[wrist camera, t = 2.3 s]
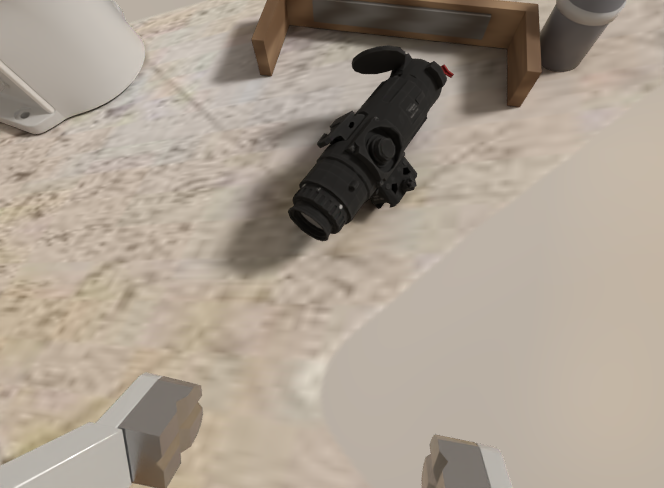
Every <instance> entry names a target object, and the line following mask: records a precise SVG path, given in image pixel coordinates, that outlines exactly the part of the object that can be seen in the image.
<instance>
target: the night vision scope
mask: <svg viewBox="0 0 664 488" xmlns="http://www.w3.org/2000/svg"><path fill="white" fill-rule="evenodd" d="M352 68H353V69H354V71H356V72H359V73H361V74H379V73H383V72H388V71H391V70H392V72H391V76H390V77H389V79H388V80H386V81H384V82H382V83H381V84H380V85H379V86H378V87H377V89H376V90H375V91H374V92H373V93H372V95H371V96H370V97H369V98H368V99H367V101H366V102H365V103H364V104H363V105H362V107H361V108H360V109H359V110H358V111H357V113H356V114H355V115H354V112H353V111H351V112H349V113H347V114H345V115H343V116H342V117H340V118H338V119H336V120H335V121H334V122H333V123H332V125H331V126H330V128H331V132H330V133H329V134H324V135H323V136H322V137H321V139H320V140H319V141H318V143H317V145H318V146H319V147H320V148H322V147H324V146H326V145H328V144H329V143H330V144H331V145H329V146H328V147H327V149H326V150H325V151H324V152H323V154H322V155H321V156H320V158H319V159H318V160H317V164H316V165H315V166H314V167H313V169H312V170H311V171H310V172H309V173H308V175H307V176H306V177H305V178H304V179H303V180H302V182H301V183H300V189H299V190H298V192H297V193H296V194H295V196H294V197H293V204H294V206H293V207H292V208H290V209H289V211H288V213H289V216H290V218H291V219H292V220H293V222H294V223H295V224H296V225H297V226H298V227H299V228H300V229H301V230H302V231H304V232H305V233H307V234H308V235H309V236H311V237H313V238H315V239H317V240H320V241H327V240H328V237H329V235H330V233H331V234H336V233H338V232H339V231H340V230H341V229H342V227H343V226H344V224H348V223H349V222H351V220H352V219H353V217H354V216H355V215H356V213H357V212H358V210H359V209H360V208H361V206H362V205H363V203H364V202H366V201H367V200H369V198H370V199H371V201H372V202H373V204H374V205H375V206H376V207H377V208H378V209H380V208H381V207H382V206H383V204H384V203H386V202H387V203H389V204H390V207H394V206H395V205H397V204H398V203H399V202H400V200H401V199H402V197H403V196H404V194H405V193H406V191H411V190H414V188H415V186H416V182H415V178H416V177H417V173H416V171H415V170H414V169H413V167H412V166H411V165H410V163H409V162H408V161H407V159H406V158H405V157H404V156H405V152H404V150H405V148H406V147H407V146H408V144H409V143H410V141H411V140H412V139H413V137H414V136H415V134H416V133H417V132H418V130H419V129H420V128H421V126H422V125H423V123H424V122H425V121H426V119H427V113H428V111H429V109H430V108H431V107H432V105H433V104H434V103H435V101H436V100H437V99H438V98H439V95H440V93H441V90H442V87H443V86H444V85H445V83H446V81H447V77H446V75H447V76H448V77H450V78H451V77H452V76H453V75H454V74H453V73H451V72H450V71H449V70H448V69H447V67H446V66H445V64H444V65H442V66H440V65H438V64H437V63H436V62H435V61H433V62H431V63H429V62H427V61H425V60H422V59H412V58H411V56H410V55H409V53H408V54H405V51H404V50H402V49H401V48H400V47H394V46H379V47H375V48H371V49H368V50H365V51H363V52H361V53H360V54H358V55H357V56H356V57H355V58H353V61H352Z"/></svg>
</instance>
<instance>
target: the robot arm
mask: <svg viewBox="0 0 664 488" xmlns="http://www.w3.org/2000/svg"><path fill="white" fill-rule="evenodd" d="M144 58H145V47H144V43H143V40H142V38H141V37H140V35H139V34H138V33H137V32H136V31H135V30H134V29H133V28H132V27H131V25H130V24H129V23H128V22H127V21H126V20H125V17H124V14H123V11H122V10H121V8H120V7H119V6H118V4H117V3H116V2H115V1H112V0H0V122H2V123H5V124H7V125H10V126H13V127H16V128H18V129H21V130H24V131H27V132H29V133H33V134H39V133H43V132H45V131H47V130H49V129H51V128H52V127H54V126H56V125H57V124H59V123H60V122H62V121H63V120H65V119H66V118H69V117H71V116H74V115H77V114H80V113H83V112H86V111H89V110H92V109H94V108H97V107H99V106H101V105H103V104H105V103H107V102H108V101H110V100H112V99H113V98H115V97H116V96H118V95H119V94H120V93H121V92H123V91H124V90H125V89H126V88H127V87H128V86H129V85H130V84H131V83H132V82H133V81H134V79H135V78H136V77H137V75H138V73H139V72H140V70H141V68H142V65H143V62H144ZM201 396H202V391H201V386H200V385H198V384H193V383H189V382H185V381H181V380H177V379H173V378H169V377H165V376H160V375H155V374H151V373H147V372H146V373H144V374H142V375H140V376H139V377H138V378H137V379H136V380H135V381H134V382H133V383H132V384H131V385H130V386H129V387H128V389H127V390H126V391H125V392H124V393H123V394H122V395H121V396H120V397H119V398H118V399H117V400H116V401H115V403H114V404H113V405H112V406H111V407H110V408H109V409H108V410H107V411H106V412H105V413H104V414H103V416H102V417H101V418H100V419H99V420H98V421H97V422H96V423H93V422H89V423H87V424H85V425H83V426H81V427H78V428H76V429H74V430H72V431H70V432H68V433H66V434H64V435H62V436H60V437H58V438H56V439H54V440H52V441H50V442H48V443H46V444H44V445H42V446H40V447H38V448H36V449H34V450H32V451H30V452H28V453H25V454H23V455H21V456H19V457H17V458H15V459H13V460H11V461H9V462H7V463H5V464H3V465H1V466H0V488H129V487H130V486H131V485H132V484H131V483H135V484H140V485H145V486H150V487H154V488H167V486H168V485H169V483H170V481H171V480H172V478H173V476H174V475H175V473H176V471H177V469H178V468H179V466H180V464H181V452H183V451H185V450H186V449H188V448H189V447H191V445H192V443H193V442H194V440H195V438H196V436H197V434H198V431H199V428H200V426H201V422H202V416H203V409H202V407H201V405H200V404H199V403H198V401H199V399H200V398H201ZM430 452H431V454H430V455H428V456H427V457H426V458H425V462H424V465H423V471H422V488H513V485H512V482H511V479H510V476H509V473H508V470H507V467H506V465H505V461H504V458H503V456H502V453H501V451H500V450H499V449H498V448H497V447H492V446H488V445H483V444H478V443H474V442H469V441H465V440H460V439H455V438H450V437H445V436H440V435H434V436H433V437H432V439H431V442H430Z"/></svg>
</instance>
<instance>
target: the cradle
mask: <svg viewBox="0 0 664 488" xmlns="http://www.w3.org/2000/svg"><path fill="white" fill-rule="evenodd" d="M289 25H295V26H304V27H313V28H322V29H331V30H340V31H350V32H359V33H368V34H377V35H386V36H395V37H405V38H414V39H423V40H432V41H441V42H450V43H459V44H469V45H478V46H487V47H496V48H505V49H507V105H508V106H516V107H520V106H521V104H522V103H523V101H524V100H525V98H526V97H527V95H528V93H529V92H530V90H531V89H532V87H533V86H534V84H535V82H536V81H537V79H538V78H539V76H540V75H541V73H542V68H541V48H540V29H539V9H538V4H531V3H521V2H510V1H500V0H267V2H266V4H265V7H264V9H263V12H262V14H261V17H260V19H259V22H258V24H257V27H256V29H255V32H254V34H253V36H252V39H251V40H252V44H253V48H254V51H255V55H256V59H257V63H258V67H259V71H260V75H267V76H272V73H273V70H274V68H275V65H276V62H277V59H278V56H279V53H280V51H281V48H282V45H283V42H284V39H285V36H286V33H287V31H288V28H289Z"/></svg>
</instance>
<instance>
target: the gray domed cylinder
mask: <svg viewBox="0 0 664 488" xmlns="http://www.w3.org/2000/svg"><path fill="white" fill-rule="evenodd" d="M625 4H626V0H556V5H555V7H554V9H553V11H552V12H551V14H550V16H549V18H548V20H547V21H546V23H545V25H544V27H543V29H542V30H541V32H540V48H541V66H542V67H544V68H546V69H549V70H552V71H558V72H564V71H570V70H572V69H574V68H576V67H577V66H578V65H579V64H580V62H581V61H582V59H583V58H584V57H585V55H586V54H587V53H588V51H589V50H590V49H591V47H592V46H593V44H594V43H595V42H596V40H597V39H598V38H599V36H600V35H601V34H602V32H603V31H604V29H605V28H606V27H607V25H608V24H609V23H610V22H612V21H613V20H614V19H615V18H616V17H617V16H618V14H619V13H620V12H621V10H622V9H623V8H624V6H625Z"/></svg>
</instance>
